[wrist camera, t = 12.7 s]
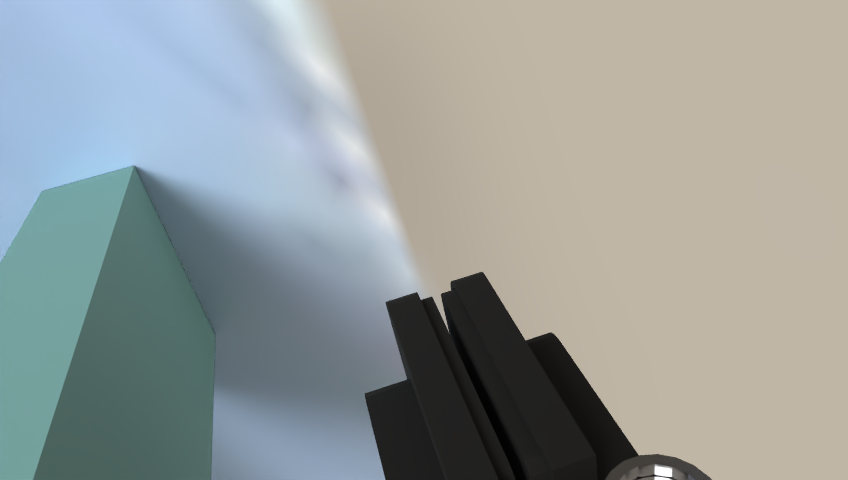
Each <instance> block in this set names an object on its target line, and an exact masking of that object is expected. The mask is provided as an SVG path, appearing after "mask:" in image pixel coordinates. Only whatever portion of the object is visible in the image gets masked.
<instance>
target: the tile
mask: <svg viewBox="0 0 848 480" xmlns="http://www.w3.org/2000/svg"><path fill="white" fill-rule="evenodd" d="M214 366H215V333H214V331H213V329H212V327H211V325H210V323H209V321H208V319H207V316H206V314H205V312H204V310H203V308H202V306H201V304H200V302H199V300H198V298H197V296H196V294H195V291H194V289H193V287H192V285H191V283H190V281H189V279H188V277H187V275H186V273H185V271H184V269H183V266H182V264H181V262H180V260H179V258H178V256H177V254H176V252H175V250H174V248H173V246H172V244H171V241H170V239H169V237H168V235H167V233H166V231H165V229H164V227H163V225H162V223H161V221H160V218H159V216H158V214H157V212H156V210H155V208H154V206H153V204H152V202H151V200H150V198H149V196H148V193H147V191H146V189H145V187H144V185H143V183H142V181H141V179H140V177H139V175H138V173H137V171H136V168H135V166H131V167H127V168H123V169H120V170H116V171H113V172H109V173H105V174H102V175H98V176H95V177H91V178H88V179H84V180H80V181H77V182H73V183H70V184H66V185H63V186H59V187H55V188H52V189H48V190H45V191H42V192H41V194H40V196H39V197H38V199H37V201H36V203H35V204H34V206H33V208H32V209H31V211H30V213H29V215H28V216H27V218H26V220H25V221H24V223H23V225H22V227H21V228H20V230H19V232H18V234H17V235H16V237H15V239H14V240H13V242H12V244H11V246H10V247H9V249H8V251H7V252H6V254H5V256H4V258H3V259H2V261H1V263H0V480H211V462H212V430H213V398H214Z"/></svg>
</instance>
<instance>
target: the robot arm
mask: <svg viewBox="0 0 848 480" xmlns="http://www.w3.org/2000/svg"><path fill="white" fill-rule="evenodd" d="M441 297H442V303H443V307H444V311H445V316H446V320H447V325H448V329H449V332H448V330H447V328H446V325H445V323H444V321H443V319H442V317H441V315H440V312H439V310H438V308H437V306H436V304H435V302H434V300H433V298H432V297H429V298H426V299H423V300H420V297H419V295H418V293H417V292H416V293H413V294H410V295H406V296H403V297H400V298H397V299H394V300H391V301H387V302H386V306H387V310H388V313H389V317H390V320H391V324H392V327H393V331H394V334H395V338H396V341H397V345H398V348H399V352H400V355H401V359H402V362H403V366H404V369H405V373H406V376H407V380H405V381H402V382H399V383H396V384H393V385H390V386H387V387H384V388H381V389H378V390H375V391H372V392H369V393H365V398H366V403H367V407H368V411H369V415H370V419H371V423H372V427H373V431H374V435H375V439H376V443H377V447H378V451H379V455H380V459H381V463H382V467H383V471H384V475H385V479H386V480H712V479H711V478H710V477H708V476H707V475H706V474H704V473H703V472H702V471H701V470H699V469H698V468H697V467H695V466H694V465H692V464H690V463H687V462H685V461H683V460H681V459H678V458H676V457H670V456H664V455H659V454H654V455H640V456H639V455H638V454H637V452H636V451H635V449H634V448H633V446H632V445H631V443H630V442H629V441H628V439H627V438H626V436H625V435H624V433H623V432H622V430H621V429H620V428H619V426H618V425H617V423H616V422H615V420H614V419H613V417H612V416H611V414H610V413H609V412H608V410H607V409H606V407H605V406H604V404H603V403H602V401H601V400H600V398H599V397H598V396H597V394H596V393H595V391H594V390H593V388H592V387H591V385H590V384H589V383H588V381H587V380H586V378H585V377H584V375H583V374H582V372H581V371H580V369H579V368H578V367H577V365H576V364H575V362H574V361H573V359H572V358H571V356H570V355H569V354H568V352H567V351H566V349H565V348H564V346H563V345H562V343H561V342H560V341H559V339H558V338H557V337H556V336H555V335H554V334H553V333H547V334H544V335H541V336H538V337H535V338H532V339H529V340H526V341H525V339H524V337H523V336H522V334H521V333H520V331H519V329H518V328H517V326H516V325H515V323H514V321H513V320H512V318H511V316H510V315H509V313H508V311H507V310H506V309H505V307H504V305H503V303H502V302H501V300H500V298H499V297H498V295H497V294H496V292H495V290H494V289H493V287H492V286H491V284H490V282H489V281H488V279H487V278H486V276H485V274H484V273H483V272H480V273H476V274H473V275H470V276H467V277H464V278H461V279H458V280H454V281H451V291H448V292H445V293H442V294H441Z"/></svg>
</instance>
